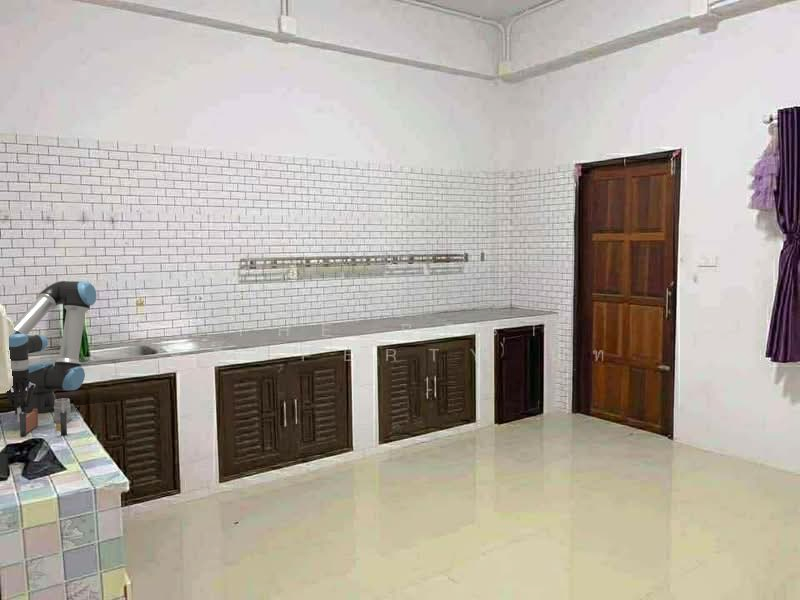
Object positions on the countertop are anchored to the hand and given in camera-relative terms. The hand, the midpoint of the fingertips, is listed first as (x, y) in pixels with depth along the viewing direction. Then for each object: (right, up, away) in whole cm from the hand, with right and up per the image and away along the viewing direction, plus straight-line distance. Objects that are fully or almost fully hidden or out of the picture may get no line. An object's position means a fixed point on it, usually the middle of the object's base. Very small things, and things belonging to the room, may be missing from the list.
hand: (20, 421), depth 290 cm
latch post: (+23, -5, -7) cm, 24 cm away
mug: (+12, -3, +13) cm, 18 cm away
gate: (+5, -3, -2) cm, 6 cm away
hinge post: (+7, -5, -10) cm, 12 cm away
